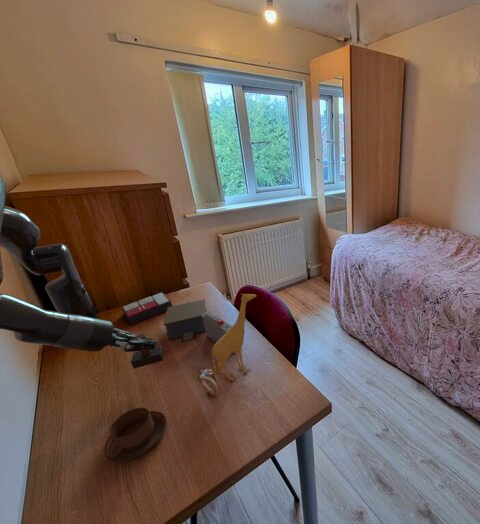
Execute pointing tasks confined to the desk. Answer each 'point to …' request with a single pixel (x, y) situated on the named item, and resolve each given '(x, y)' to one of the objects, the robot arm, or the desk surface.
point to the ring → (205, 375)
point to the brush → (147, 355)
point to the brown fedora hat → (134, 434)
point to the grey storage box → (185, 318)
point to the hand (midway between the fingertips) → (152, 344)
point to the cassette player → (215, 326)
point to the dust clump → (188, 336)
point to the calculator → (146, 307)
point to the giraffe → (232, 340)
